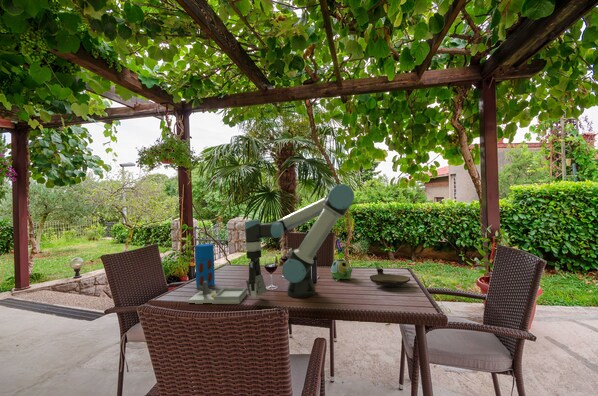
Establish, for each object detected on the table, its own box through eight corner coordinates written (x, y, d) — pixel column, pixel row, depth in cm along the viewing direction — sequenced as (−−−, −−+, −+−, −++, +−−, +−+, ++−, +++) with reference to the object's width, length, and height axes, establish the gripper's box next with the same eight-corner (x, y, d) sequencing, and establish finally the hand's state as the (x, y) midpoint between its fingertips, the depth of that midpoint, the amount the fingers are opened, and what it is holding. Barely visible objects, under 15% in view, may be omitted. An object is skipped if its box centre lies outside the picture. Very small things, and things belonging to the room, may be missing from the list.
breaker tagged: (207, 295, 155) (207, 280, 155) (205, 297, 152) (205, 282, 152) (205, 295, 155) (204, 280, 155) (202, 297, 152) (202, 282, 152)
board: (246, 294, 163) (246, 287, 163) (239, 303, 148) (239, 296, 148) (200, 294, 165) (200, 288, 165) (188, 303, 150) (188, 296, 150)
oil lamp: (369, 291, 161) (369, 277, 161) (369, 277, 190) (369, 265, 190) (413, 293, 156) (412, 278, 156) (406, 278, 185) (406, 265, 185)
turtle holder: (341, 284, 175) (341, 264, 176) (327, 277, 192) (327, 259, 192) (359, 281, 180) (358, 262, 180) (344, 275, 197) (343, 257, 197)
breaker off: (212, 289, 162) (199, 285, 162) (210, 291, 159) (197, 286, 159) (211, 292, 162) (198, 287, 162) (209, 293, 159) (196, 289, 159)
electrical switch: (253, 297, 146) (251, 278, 147) (246, 297, 150) (244, 278, 150) (266, 292, 154) (264, 274, 155) (260, 292, 157) (257, 274, 158)
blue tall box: (218, 285, 182) (216, 244, 182) (202, 289, 174) (200, 246, 174) (208, 282, 189) (207, 243, 190) (192, 286, 182) (191, 245, 182)
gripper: (251, 247, 164) (254, 287, 163) (240, 254, 141) (243, 301, 141) (265, 246, 163) (267, 286, 163) (255, 253, 140) (258, 300, 140)
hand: (256, 293), depth 152 cm, fingers closed on electrical switch, 10 cm apart
